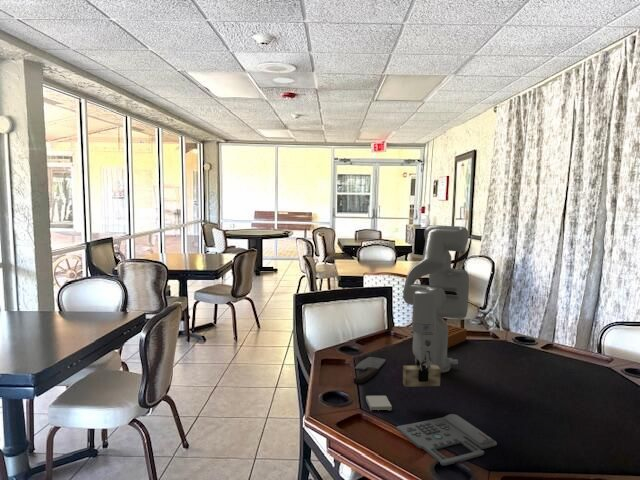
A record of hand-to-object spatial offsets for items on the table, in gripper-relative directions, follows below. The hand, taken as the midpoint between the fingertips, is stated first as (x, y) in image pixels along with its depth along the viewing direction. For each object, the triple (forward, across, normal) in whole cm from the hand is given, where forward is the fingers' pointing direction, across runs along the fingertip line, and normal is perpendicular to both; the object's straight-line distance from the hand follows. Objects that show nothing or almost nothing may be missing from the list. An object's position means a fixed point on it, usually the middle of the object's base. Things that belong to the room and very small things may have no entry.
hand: (421, 378), depth 142 cm
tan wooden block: (+2, 0, 0) cm, 2 cm away
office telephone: (+9, -22, -1) cm, 24 cm away
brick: (+12, +66, -33) cm, 75 cm away
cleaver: (+10, +30, +13) cm, 34 cm away
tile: (+8, -1, +11) cm, 14 cm away
